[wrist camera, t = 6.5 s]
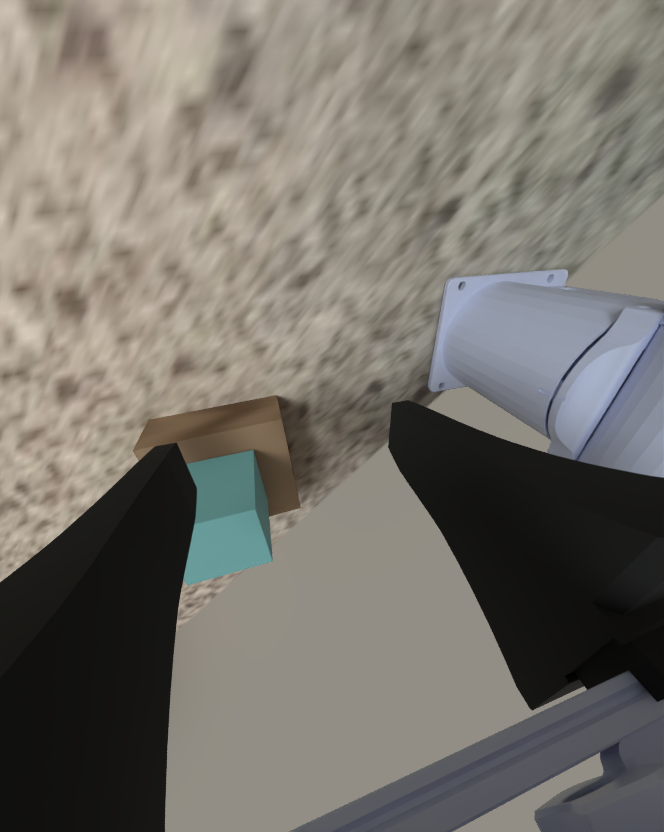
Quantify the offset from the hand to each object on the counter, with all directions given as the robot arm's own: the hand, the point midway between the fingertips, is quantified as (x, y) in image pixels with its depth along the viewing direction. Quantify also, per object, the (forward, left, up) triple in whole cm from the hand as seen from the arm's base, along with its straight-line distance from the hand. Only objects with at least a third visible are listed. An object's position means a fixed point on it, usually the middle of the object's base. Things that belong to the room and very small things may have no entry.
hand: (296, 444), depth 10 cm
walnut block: (+4, +7, -10) cm, 13 cm away
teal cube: (+4, +7, -6) cm, 10 cm away
